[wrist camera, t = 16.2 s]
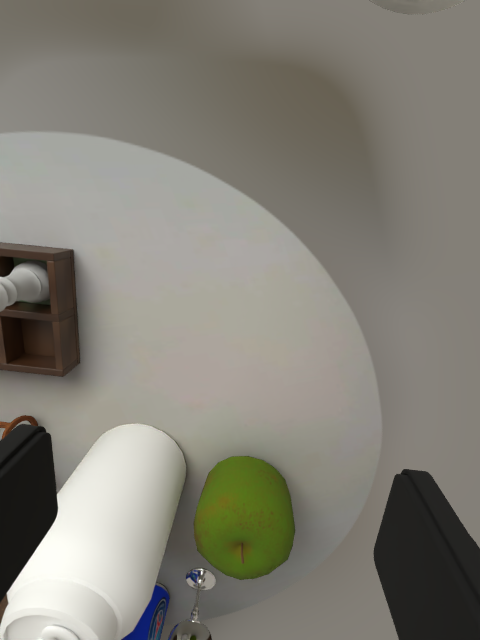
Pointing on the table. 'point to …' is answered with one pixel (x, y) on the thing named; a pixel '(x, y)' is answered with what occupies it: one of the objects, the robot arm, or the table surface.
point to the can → (101, 542)
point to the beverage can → (152, 616)
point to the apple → (244, 518)
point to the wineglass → (191, 634)
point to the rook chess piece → (25, 284)
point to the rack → (41, 316)
